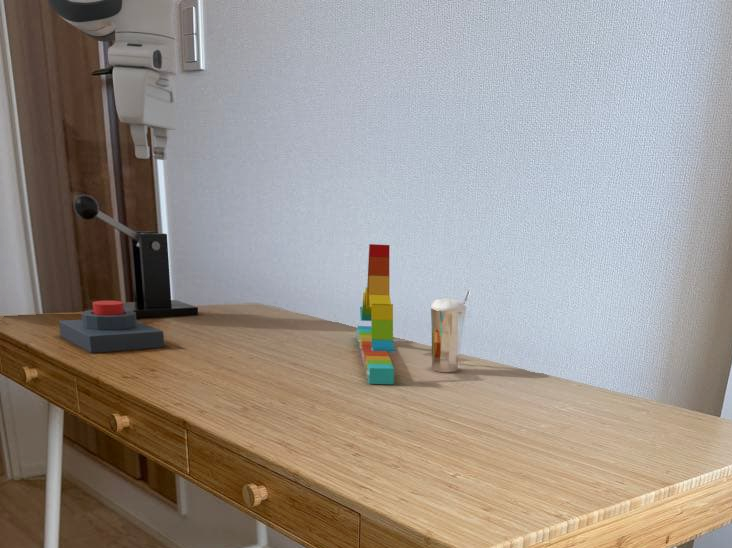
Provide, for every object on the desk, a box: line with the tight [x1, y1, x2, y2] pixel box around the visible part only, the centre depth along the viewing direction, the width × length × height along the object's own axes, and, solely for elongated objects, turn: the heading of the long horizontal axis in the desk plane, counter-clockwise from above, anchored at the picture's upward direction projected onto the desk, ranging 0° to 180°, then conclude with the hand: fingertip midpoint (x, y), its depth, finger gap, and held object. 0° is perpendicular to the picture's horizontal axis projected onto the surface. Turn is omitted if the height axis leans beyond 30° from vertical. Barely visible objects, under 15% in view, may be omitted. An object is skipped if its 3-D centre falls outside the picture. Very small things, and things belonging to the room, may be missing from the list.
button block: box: [58, 309, 165, 354], centre depth 115 cm, size 13×10×4 cm
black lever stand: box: [123, 231, 199, 320], centre depth 138 cm, size 12×9×13 cm
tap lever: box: [73, 194, 140, 248], centre depth 132 cm, size 14×4×4 cm
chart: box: [355, 243, 396, 385], centre depth 111 cm, size 30×3×15 cm, turn 6°
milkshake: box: [430, 290, 471, 373], centre depth 107 cm, size 4×5×10 cm
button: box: [92, 300, 124, 315], centre depth 114 cm, size 4×4×2 cm
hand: (151, 159), depth 132 cm, fingers open, 8 cm apart
